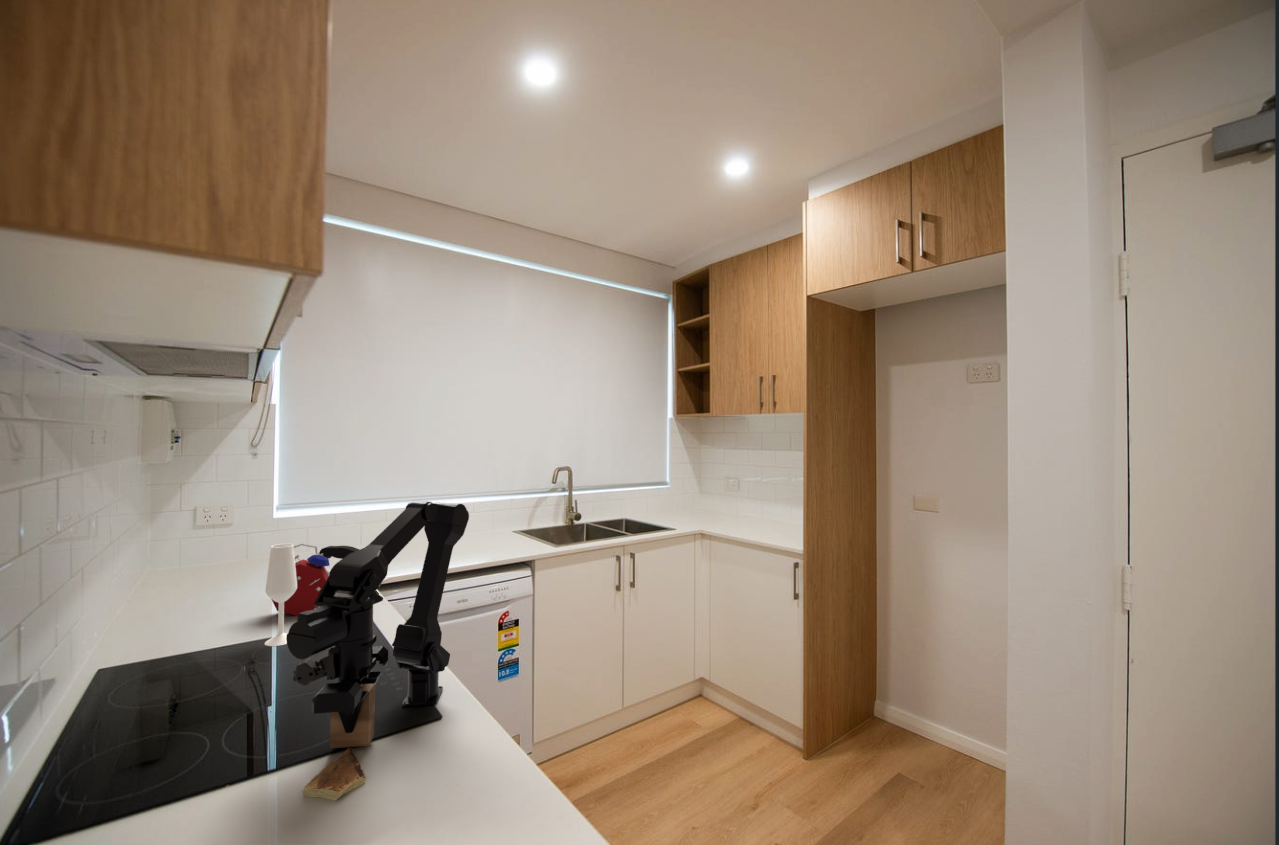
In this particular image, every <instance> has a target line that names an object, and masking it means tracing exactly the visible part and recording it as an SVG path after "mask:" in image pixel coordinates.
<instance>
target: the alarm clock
mask: <svg viewBox="0 0 1279 845" xmlns="http://www.w3.org/2000/svg"><path fill="white" fill-rule="evenodd" d="M293 546H294V549H295V548H298V547H301V546H305V547H309V548H313V549H314V550H315V554H313V555H311V556H309V557H308V558H306V559H300V555H299V554H297V555H295V556H294V557H295V560H299V561H295V567H296V578H297V589H296V591H295V593H294V594H293V595H292V596H291V597H290V598H289V599H288V600H286V601H285V602H284V614H289V615H293V616H297V615H298V614H299V613H301V612H304V611H310V610H313V609H316V608H319V607H318V606H314V602H315V600H316V598H317V597H318V595H319V593H320V591H321V589H322V588H323V586H324V584H325V582H326V580H327V578H328V577H329V575H328V573H327V571H326V569H325V567H330V566H331V565H330V560H329V559H328V558H326V557H324V556H323V553H322V554H319V552H318V547H317V546H316V545H310V544H304V543H300V544H297V545H293ZM324 566H325V567H324ZM270 600H271V601H272V603H273V605H274V607H275V610H276V611H277V612H278V608H279V603H278V602H275V601H274V600H272V599H271V598H270Z"/></svg>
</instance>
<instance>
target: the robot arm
mask: <svg viewBox="0 0 1279 845" xmlns="http://www.w3.org/2000/svg"><path fill="white" fill-rule="evenodd" d="M469 519H470V513H469V511H468V509H467V507H466V506H465V505H464V504H463V503H453V502H452V503H451V502H440V501H439V502H432V501H427V500H426V501H425V500H413V501H409V502H408V503H407V505H406V506H405V509H404V510H403V511H402V512H401V513H400V514H399V515H397V517H396V518H395V519H394V520H392V522H391V523H390V524H389V525H387V526H386V528H384V529H383V530H382V531H381V532H380V533H379V534H378V535H377V536H376V537H375V538H374V539H373V540H372V541H371V542H370V543H369V544H368V545H366V546H364V547H363V548H361V549H360V550H358V551H355V552H353V553H350V554H349V555H347V556H346V557H345V558H343V559H339V561H337V562H336V563H335V564H334V565H333V566H332V567H331V568H330V570H331V571H330V575H329V577H328V578H327V580H326V582H325V584H324V586H323V588H322V589H321V591H320V593H319V595H318V597H317V598H316V600H315V602H314V606H318V607H319V608H315V609H313V610H310V611H304V612H301V613H299V614H298V615H297V618H296V620H297V621H296V622H294V623H293V624H291V626H290V628H289V630H288V633H286V634H287V638H286V639H287V644H286V645H287V649H288V650H289V652H290V653H291V655H292V656H293V657H295V659H299V660H301V661H300V662H299V663H298V664H297V665H296V666H295V668H294V670H293V674H294V676H293V678H292V681H294V682H297V684H299V685H301V687H306V686H308V685H309V684H310V683H313V682H314V681H317V680H320V679H321V678H322V679H323V678H325V677H326V680H327V681H333V680H336V679H338V681H337V682H331V683H326V684H325V685H324V686H323V687H322V688H321V689H320V690H319V691H318V692H317V693H316V694H315V695H314V697H313V698H312V699H311V706H310V707H311V710H310V711H311V713H312V714H314V715H315V714H326V713H327V714H329V713H330V714H331V712H338V713H339V716H340V719H341V721H342V724H343V727H344V730H345V732H346V733H352V732H353V730H354V728H355V725H356V723H357V720H358V717H359V715H360V712H361V709H362V706H363V704H364V701H365V699H366V696H367V693H368V691H362V685H363V684H373V683H375V686H376V684H377V682H378V680H379V677H380V676H381V671H378V670H377V671H373V669H374V667H375V666H376V664H377V662H379V666H380V667H384V666H385V665H386V664H387V662H388V661H389V650H388V649H387V648H386V647H385V646H384V645H375V646H374V644H375V643H376V641H377V634H374V605H375V604H378V603H381V602H382V601H383V600H384V597H383V596H381V595H380V594H378V593H377V590H378V588H379V586H380V587H381V585H382V584H383V583H382V581H383V580H384V579H385V577H387V576H388V571H389V570H388V569H389V566H390V563H392V561H393V560H394V559H395V558H396V557H397V556H398V555H399V553H400V552H402V550H404V549H405V547H406V546H407V545H408V544H409V543H410V542H411V541H412V540H413V539H414V538H415V537H416V536H417V535H418V533H419V532H420V531H422V529H423V530H424V532H425V536H426V538H427V542H428V543H427V544H428V545H427V547H426V548H427V549H426V553H425V557H424V561H423V564H422V565H423V566H422V570H421V573H420V574H421V575H420V577H419V578H420V579H419V583H418V587H417V591H416V595H415V599H414V604H413V607H412V610H411V614H410V617H409V618H408V619H407V620H406V621H405V622H404V624H403V623H399V624H398V625H397V627H396V630H395V635H394V636H395V637H394V640H393V643H392V644H391V647H393V648H392V649H393V650H392V656H393V657H394V659H395V661H396V664H397V668H398V669H400V670H402V669H403V670H407V694H406V696H405V698H404V700H403V701H402V703H401V704H402V705H401V706H402V707H412V706H425V705H426V706H427V705H436V704H437V703H438V702H439V700H440V697H441V694H442V692H443V689H444V688H443V686H441V685H439V675H440V674H439V672H443V671H445V669H446V667H448V666H449V664H450V658H451V653H450V652H448V650H446V649H445V647H443V646H442V645H441V643H442V637H443V636H442V634H443V633H442V629H441V626H440V623H439V619H438V616H439V612H440V611H439V610H440V607H441V602H442V599H443V595H444V594H443V593H444V590H445V589H444V588H445V585H446V580H447V576H448V571H449V567H450V562H451V557H452V553H453V550H454V546H456V544H457V543H458V542H459V541H460V539H462V537H463V536H464V534H465V531H466V528H467V525H468V522H469ZM381 583H382V584H381ZM335 594H341V595H348V596H353V597H336V596H334V595H335Z"/></svg>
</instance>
